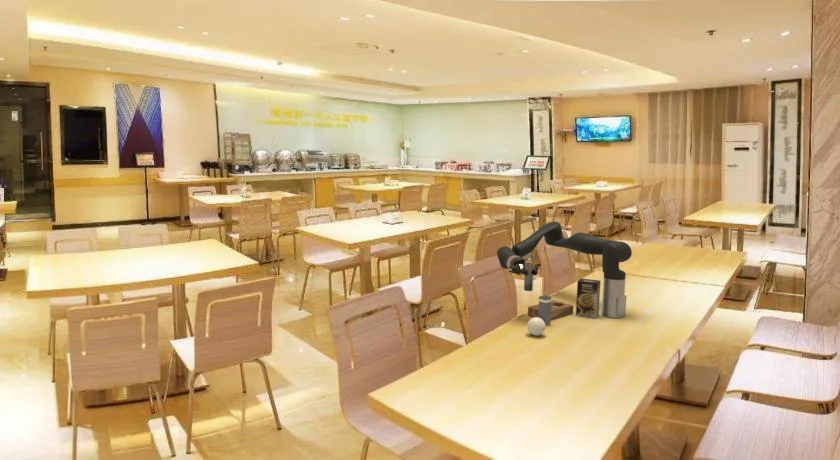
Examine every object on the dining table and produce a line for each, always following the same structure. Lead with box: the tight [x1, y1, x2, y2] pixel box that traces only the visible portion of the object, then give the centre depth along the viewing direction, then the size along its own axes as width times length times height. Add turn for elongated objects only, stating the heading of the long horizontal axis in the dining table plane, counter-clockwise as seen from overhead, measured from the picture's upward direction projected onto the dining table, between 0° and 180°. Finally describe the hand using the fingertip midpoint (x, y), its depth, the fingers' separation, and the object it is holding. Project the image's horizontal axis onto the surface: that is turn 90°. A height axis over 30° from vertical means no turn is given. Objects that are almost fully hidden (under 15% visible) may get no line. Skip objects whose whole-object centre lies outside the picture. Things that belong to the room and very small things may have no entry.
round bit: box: [523, 256, 534, 292], centre depth 257 cm, size 4×4×14 cm
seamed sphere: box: [526, 317, 548, 337], centre depth 242 cm, size 10×7×7 cm
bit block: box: [527, 299, 574, 321], centre depth 270 cm, size 11×18×4 cm, turn 129°
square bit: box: [538, 294, 552, 327], centre depth 256 cm, size 4×4×12 cm
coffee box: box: [575, 277, 601, 319], centre depth 268 cm, size 9×6×16 cm
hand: (531, 273), depth 255 cm, fingers closed on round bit, 3 cm apart
